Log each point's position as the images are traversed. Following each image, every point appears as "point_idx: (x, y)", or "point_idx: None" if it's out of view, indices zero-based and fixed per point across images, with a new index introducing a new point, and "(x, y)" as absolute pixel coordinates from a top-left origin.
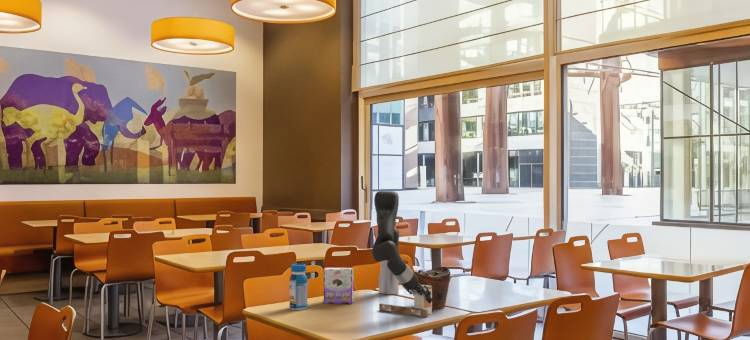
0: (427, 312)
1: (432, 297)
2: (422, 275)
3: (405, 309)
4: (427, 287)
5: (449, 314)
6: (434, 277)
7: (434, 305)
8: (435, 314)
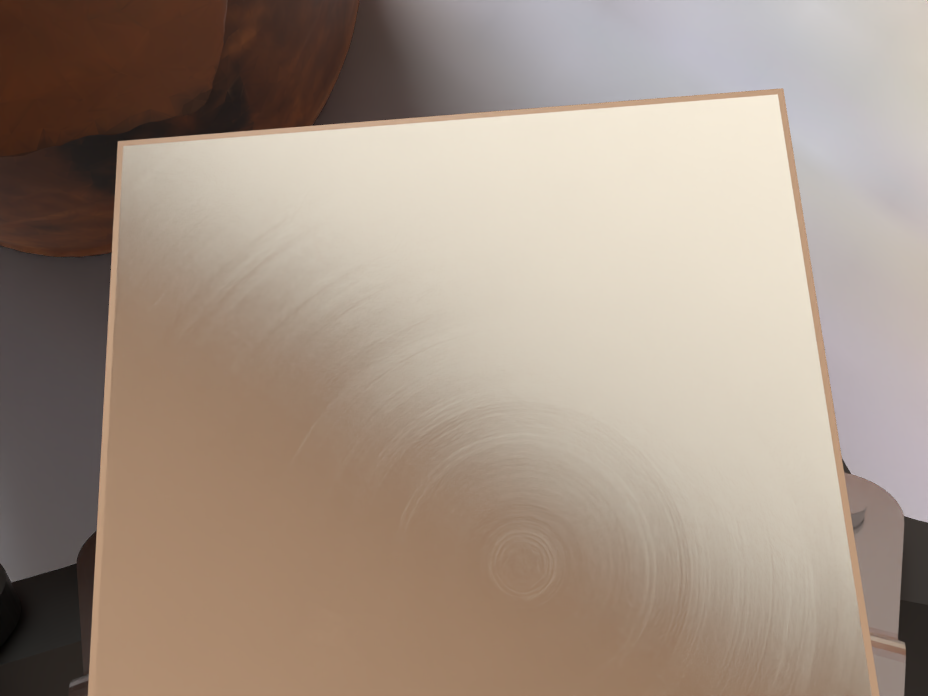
0: None
1: (286, 19)
2: None
3: None
4: (829, 426)
5: (859, 157)
6: None
7: (327, 71)
8: None
